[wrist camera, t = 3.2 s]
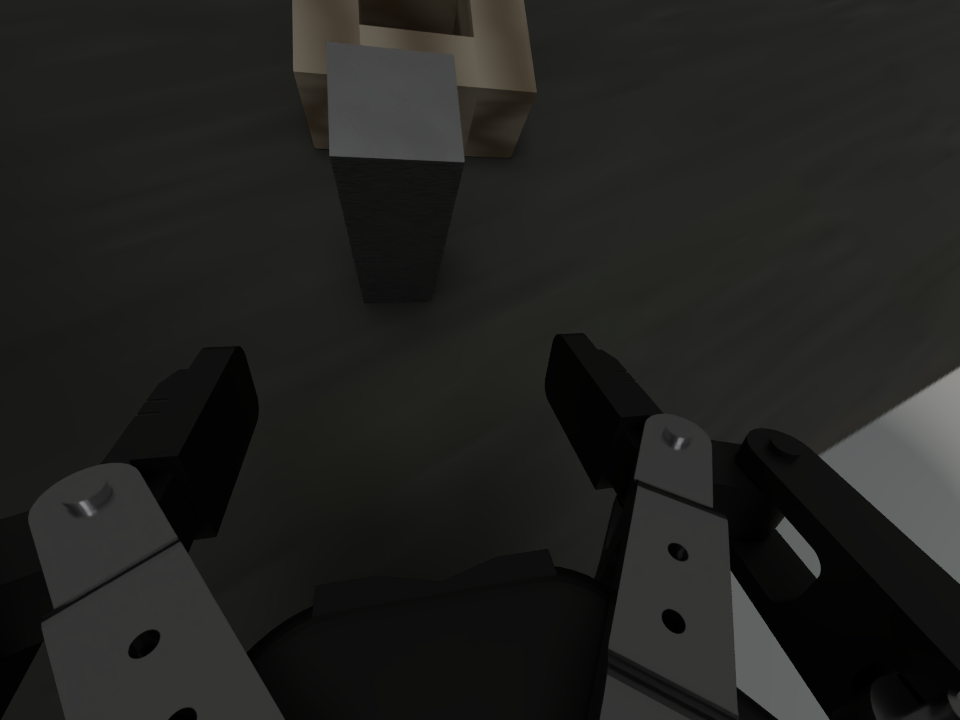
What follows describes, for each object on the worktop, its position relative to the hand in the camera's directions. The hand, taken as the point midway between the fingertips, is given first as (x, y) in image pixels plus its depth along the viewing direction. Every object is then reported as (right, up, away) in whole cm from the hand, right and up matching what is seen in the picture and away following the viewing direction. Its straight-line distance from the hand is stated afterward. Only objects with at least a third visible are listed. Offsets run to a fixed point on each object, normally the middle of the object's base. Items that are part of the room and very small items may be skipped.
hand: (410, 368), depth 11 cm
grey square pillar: (-4, +6, +16) cm, 18 cm away
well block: (-3, +22, +20) cm, 30 cm away
